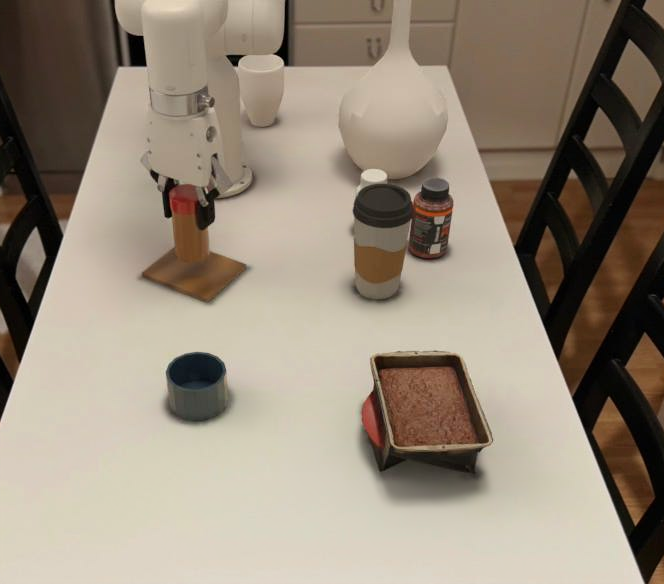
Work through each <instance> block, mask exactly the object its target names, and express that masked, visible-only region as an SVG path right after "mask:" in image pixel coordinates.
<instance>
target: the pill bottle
mask: <svg viewBox="0 0 664 584" xmlns="http://www.w3.org/2000/svg"><path fill="white" fill-rule="evenodd" d="M373 184H388V179H387V174H386V173H385V172H384V171H382V170H379V169H369V170H366V171H362V172H361V174H360V184H359V185H358V186H357V187H356V189H355V195H354V196H355V197H354V200H355V199H356V198H357V196H358V192H359V191H360V190H361V189H363V188H364V187H366V186H369V185H373Z"/></svg>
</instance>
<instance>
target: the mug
mask: <svg viewBox="0 0 664 584" xmlns="http://www.w3.org/2000/svg"><path fill="white" fill-rule="evenodd" d="M237 72H238V73H237V75H238V78H239V84H240V100H241V102H242V104H243V106H244V109H245V111H246V114H247V116H248V119H249V121H250V123H251V124H252V125H253V126H255V127H258V128H264V127H265V128H266V127H269V126H271V125H273V124H274V122H275V120H276V116H277V114H278V111H279V108H280V106H281V103H282V101H283V97H284V91H285V62H284V60H283V59H282V57H280V56H278V55H277V54H274V53H273V54H270V55H243V57H241V58H240V59H239V61H238V65H237Z"/></svg>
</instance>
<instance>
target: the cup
mask: <svg viewBox="0 0 664 584" xmlns="http://www.w3.org/2000/svg"><path fill="white" fill-rule="evenodd" d="M165 378H166V386H167V388H166V389H167V394H168V395H167V396H168V401H169V406H170V407H169V408H170V409H171V410H172V412H173V413H174V414H175V415H177V416H178V417H180V418H182V419H184V420H187V421H195V422H196V421H206V420H210V419H212V418H215V417H216V416H218V415H219V414H221V413H222V412H223V411H224V410H225V409H226V407H227V405H228V401H229V390H228V389H229V387H228V373H227V367H226V363H225V362H224V361H223V360H222V359H221V358H220V357H219V356H217V355H214V354H212V353H210V352H205V351H192V352H186V353H184V354H181V355H179V356H177V357H175V358H173V359H172V361H170V362H169V363H168V365H167V367H166V370H165Z"/></svg>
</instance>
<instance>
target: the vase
mask: <svg viewBox="0 0 664 584" xmlns="http://www.w3.org/2000/svg"><path fill="white" fill-rule="evenodd" d="M412 1H413V0H393V6H392V14H391V23H390V24H391V25H390V36H389V37H390V38H389V44H388V47H387V49H386V51H385V52H384V54H383V56H382V57H381V58H380V59H379V60H377V62H376V63H375V64H374V65H372V66H371V68H370V69H369V70H367V72H366V73H364V74H363V75H362V76H361V77H360V78H359V79H358V80H356V81H355V82H354V83H353V84H352V85H351V86H349V87H348V88H347V89H346V90H345V91H344V93H343V94H342V98H341V101H340V104H339V109H338V129H339V132H340V135H341V138H342V139H341V140H342V142H343V145H344V148H345V150H346V152H347V154H348V155H349V157H350V158H351V160H352V161H353V163H354V164H355V165H356V166H357V167H358V168H359V169H361V170H362V172H364V171H366V170H369V169H379V170H382V171H384V172H385V173H386V174H387V180H401V179H405V178H409V177H410V176H413V175H414V174H416V173H417V172H419V171H421V169H422V168H424V167H425V166H426V165H427V164H428V163H429V162H430V161H431V159H432V158H434V155H435V154H436V153H437V151H438V148H439V146H440V144H441V142H442V140H443V138H444V136H445V134H446V132H447V130H448V129H447V128H448V122H449V114H448V103H447V98H446V97H445V95H444V94H443V92H442V91H441V90H440V89H439V88H438V87H437V85H436V84H434V82H433V81H432V80H431V79H430V78H429V77H428V75H426V73H425V72H424V71H423V70H422V68H421V67H420V65H419V63H417V62H416V60H415V59H414V57H413V55H412V52H411V50H410V44H409V42H410V29H411V19H412V18H411V17H412Z"/></svg>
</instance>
